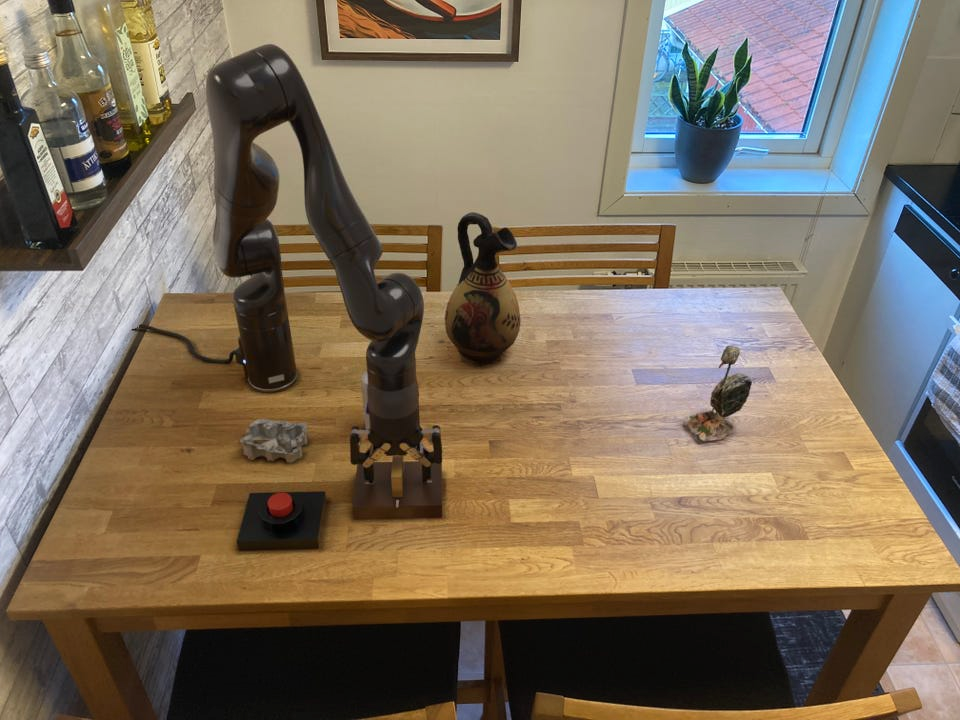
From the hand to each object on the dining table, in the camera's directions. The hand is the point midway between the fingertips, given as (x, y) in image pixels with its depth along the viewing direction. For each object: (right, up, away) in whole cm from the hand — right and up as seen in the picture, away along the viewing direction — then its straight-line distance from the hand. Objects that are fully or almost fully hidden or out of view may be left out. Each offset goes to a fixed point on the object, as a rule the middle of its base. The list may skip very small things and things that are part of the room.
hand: (398, 479), depth 122 cm
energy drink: (-5, +6, +15) cm, 17 cm away
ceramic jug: (+13, +21, +36) cm, 44 cm away
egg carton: (-23, +4, +11) cm, 26 cm away
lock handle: (0, -1, 0) cm, 1 cm away
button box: (-17, -7, -3) cm, 19 cm away
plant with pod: (+56, +7, +18) cm, 59 cm away
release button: (-17, -4, -5) cm, 19 cm away
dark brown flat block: (0, -3, +2) cm, 4 cm away
